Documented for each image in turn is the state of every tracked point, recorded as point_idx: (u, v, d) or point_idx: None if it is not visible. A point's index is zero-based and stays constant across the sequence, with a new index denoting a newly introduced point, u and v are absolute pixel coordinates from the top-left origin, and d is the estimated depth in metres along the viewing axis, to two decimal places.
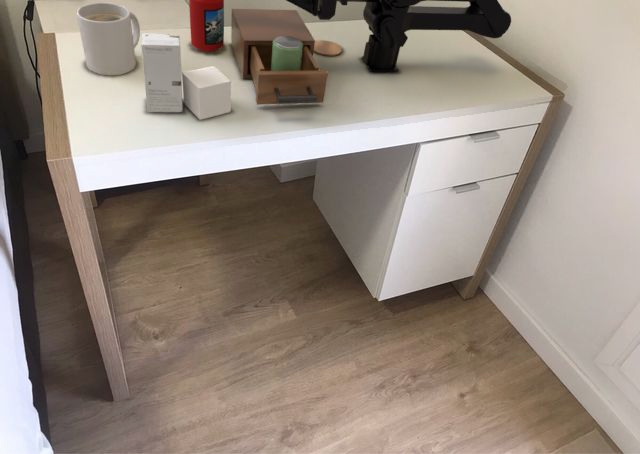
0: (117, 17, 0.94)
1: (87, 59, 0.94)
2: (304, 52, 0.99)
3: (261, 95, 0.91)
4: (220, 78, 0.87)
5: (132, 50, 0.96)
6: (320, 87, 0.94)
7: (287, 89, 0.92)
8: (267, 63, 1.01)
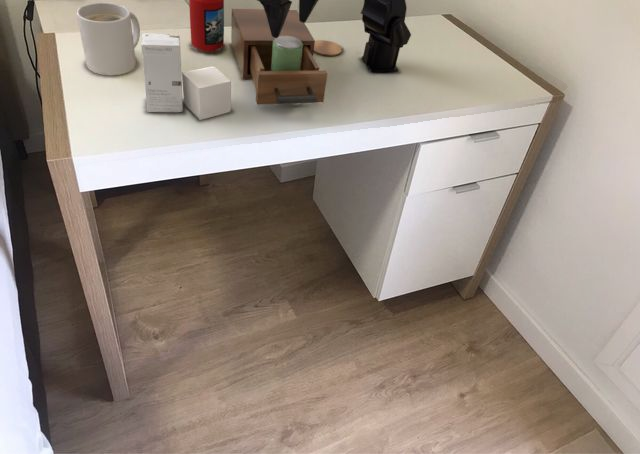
0: (117, 17, 0.94)
1: (87, 59, 0.94)
2: (304, 52, 0.99)
3: (261, 95, 0.91)
4: (220, 78, 0.87)
5: (132, 50, 0.96)
6: (320, 87, 0.94)
7: (287, 89, 0.92)
8: (267, 63, 1.01)
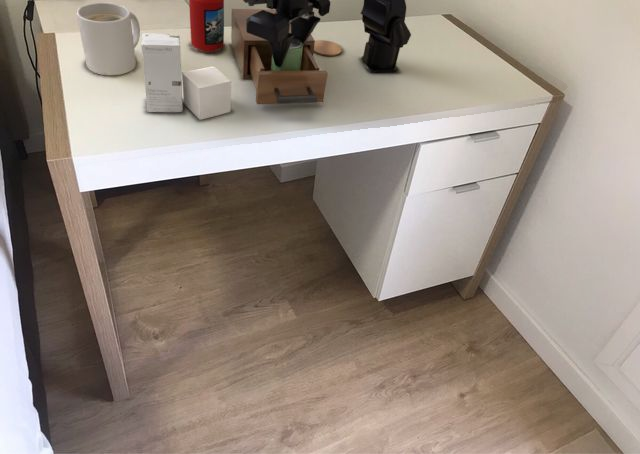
0: (117, 17, 0.94)
1: (87, 59, 0.94)
2: (304, 52, 0.99)
3: (261, 95, 0.91)
4: (220, 78, 0.87)
5: (132, 50, 0.96)
6: (320, 87, 0.94)
7: (287, 89, 0.92)
8: (267, 63, 1.01)
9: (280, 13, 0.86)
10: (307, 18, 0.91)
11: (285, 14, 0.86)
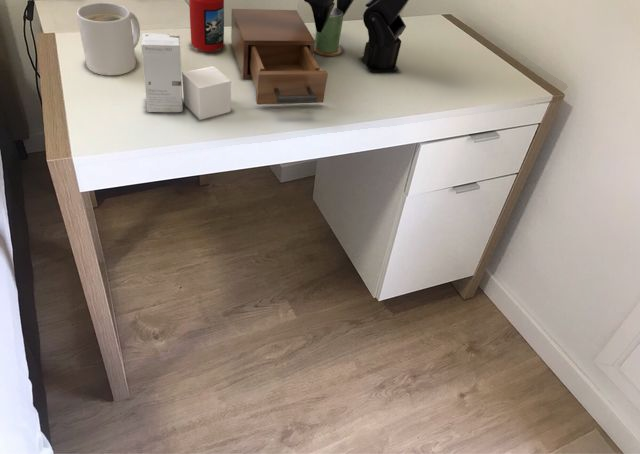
0: (117, 17, 0.94)
1: (87, 59, 0.94)
2: (304, 52, 0.99)
3: (261, 95, 0.91)
4: (220, 78, 0.87)
5: (132, 50, 0.96)
6: (320, 87, 0.94)
7: (287, 89, 0.92)
8: (267, 63, 1.01)
9: None
10: None
11: None
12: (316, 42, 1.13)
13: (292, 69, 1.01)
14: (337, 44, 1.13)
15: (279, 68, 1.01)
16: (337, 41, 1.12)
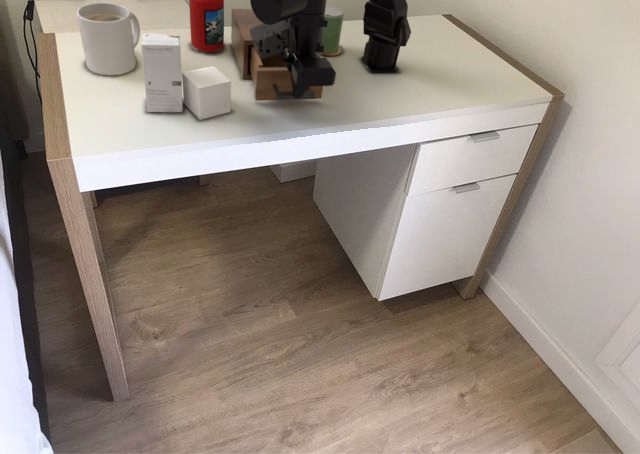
0: (117, 17, 0.94)
1: (87, 59, 0.94)
2: None
3: (260, 91, 0.92)
4: (220, 78, 0.87)
5: (132, 50, 0.96)
6: None
7: (286, 86, 0.93)
8: (266, 60, 1.02)
9: (307, 54, 0.81)
10: None
11: (310, 53, 0.82)
12: None
13: None
14: (337, 44, 1.13)
15: (278, 65, 1.02)
16: (337, 41, 1.12)
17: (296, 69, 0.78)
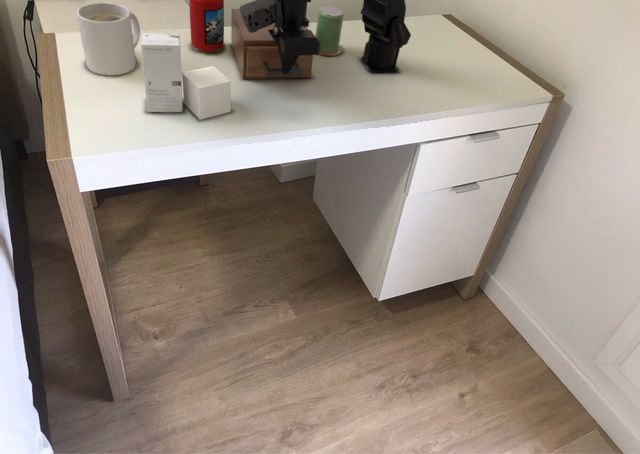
0: (117, 17, 0.94)
1: (87, 59, 0.94)
2: None
3: (251, 68, 0.98)
4: (220, 78, 0.87)
5: (132, 50, 0.96)
6: (306, 61, 1.00)
7: (275, 63, 0.99)
8: None
9: (293, 28, 0.87)
10: None
11: (296, 28, 0.88)
12: None
13: None
14: (337, 44, 1.13)
15: (269, 45, 1.08)
16: (337, 41, 1.12)
17: (283, 39, 0.84)
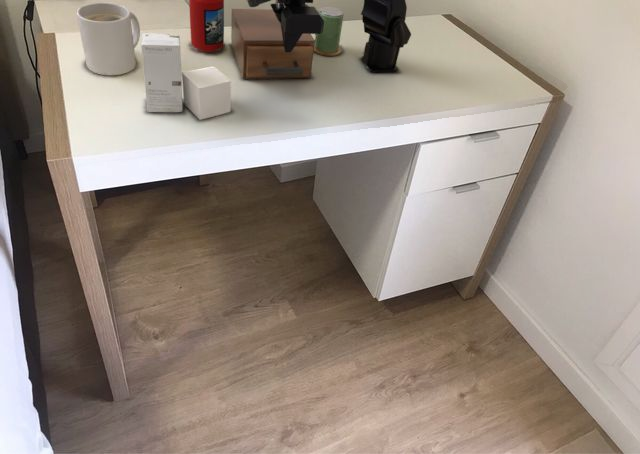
0: (117, 17, 0.94)
1: (87, 59, 0.94)
2: None
3: (251, 68, 0.98)
4: (220, 78, 0.87)
5: (132, 50, 0.96)
6: (306, 61, 1.00)
7: (275, 63, 0.99)
8: None
9: (296, 4, 0.83)
10: None
11: (300, 4, 0.84)
12: (316, 42, 1.13)
13: None
14: (337, 44, 1.13)
15: (269, 45, 1.08)
16: (337, 41, 1.12)
17: (285, 16, 0.79)
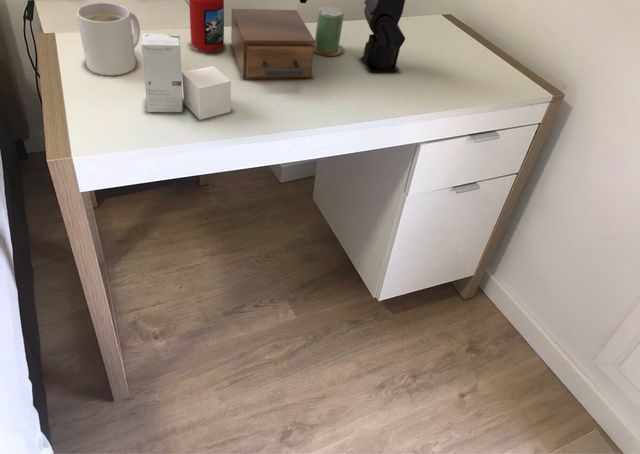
0: (117, 17, 0.94)
1: (87, 59, 0.94)
2: None
3: (251, 68, 0.98)
4: (220, 78, 0.87)
5: (132, 50, 0.96)
6: (306, 61, 1.00)
7: (275, 63, 0.99)
8: None
9: None
10: None
11: None
12: (316, 42, 1.13)
13: None
14: (337, 44, 1.13)
15: (269, 45, 1.08)
16: (337, 41, 1.12)
17: None
